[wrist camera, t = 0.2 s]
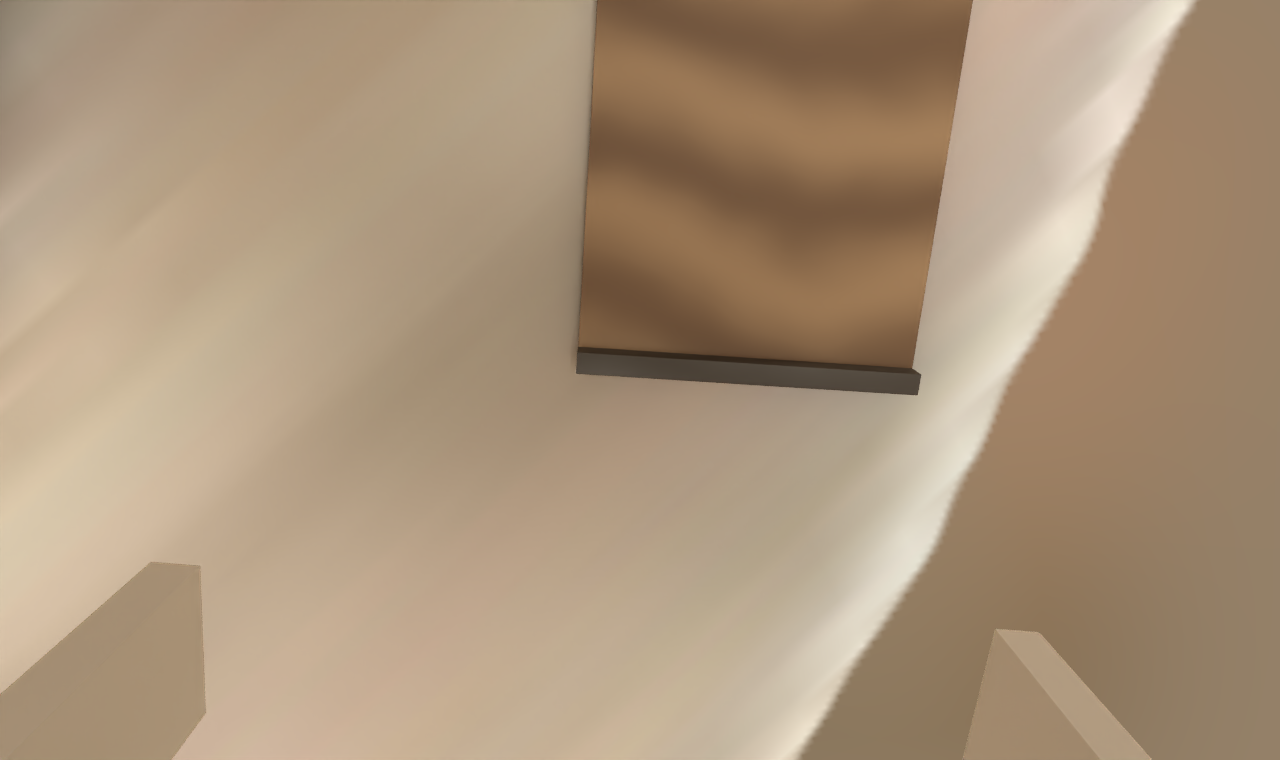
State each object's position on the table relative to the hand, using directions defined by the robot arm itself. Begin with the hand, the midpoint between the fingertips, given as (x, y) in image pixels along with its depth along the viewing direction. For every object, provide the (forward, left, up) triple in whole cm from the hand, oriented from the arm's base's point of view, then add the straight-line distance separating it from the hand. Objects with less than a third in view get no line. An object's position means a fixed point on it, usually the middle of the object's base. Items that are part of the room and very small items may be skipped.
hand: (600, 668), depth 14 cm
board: (-7, +7, -27) cm, 29 cm away
